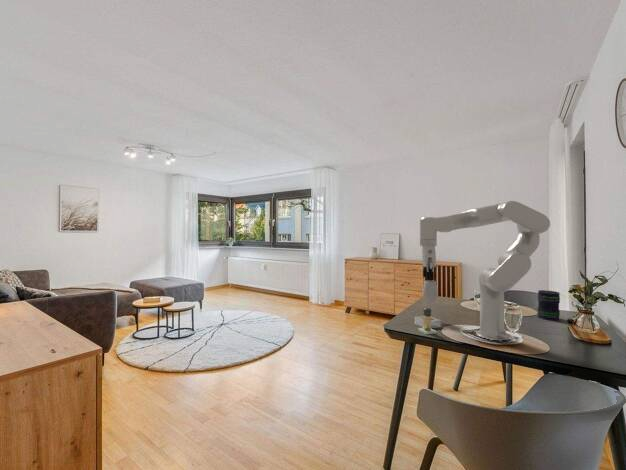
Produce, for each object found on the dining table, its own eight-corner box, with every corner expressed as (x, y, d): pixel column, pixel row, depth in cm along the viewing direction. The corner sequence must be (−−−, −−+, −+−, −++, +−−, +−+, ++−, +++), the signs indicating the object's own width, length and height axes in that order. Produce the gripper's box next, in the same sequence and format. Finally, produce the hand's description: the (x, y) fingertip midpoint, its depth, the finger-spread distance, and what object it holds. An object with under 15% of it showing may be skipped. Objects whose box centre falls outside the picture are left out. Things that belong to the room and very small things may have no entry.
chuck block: (440, 327, 153) (440, 320, 153) (425, 328, 150) (425, 321, 150) (424, 320, 164) (424, 314, 164) (410, 321, 161) (410, 315, 161)
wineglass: (439, 321, 163) (440, 282, 163) (425, 321, 163) (425, 282, 163) (434, 317, 171) (434, 280, 171) (420, 317, 171) (421, 280, 171)
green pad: (436, 333, 144) (436, 331, 144) (426, 334, 142) (426, 332, 142) (428, 329, 149) (428, 327, 149) (417, 330, 147) (417, 328, 147)
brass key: (430, 328, 147) (430, 308, 147) (431, 331, 143) (431, 310, 143) (422, 328, 148) (422, 307, 147) (423, 330, 144) (424, 309, 144)
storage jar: (541, 319, 167) (542, 293, 167) (534, 315, 177) (534, 289, 177) (563, 321, 165) (563, 294, 164) (554, 316, 174) (555, 290, 174)
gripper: (440, 243, 136) (440, 281, 136) (433, 242, 153) (433, 276, 153) (422, 243, 137) (422, 281, 137) (417, 242, 154) (417, 275, 154)
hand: (428, 278), depth 145 cm, fingers open, 9 cm apart
